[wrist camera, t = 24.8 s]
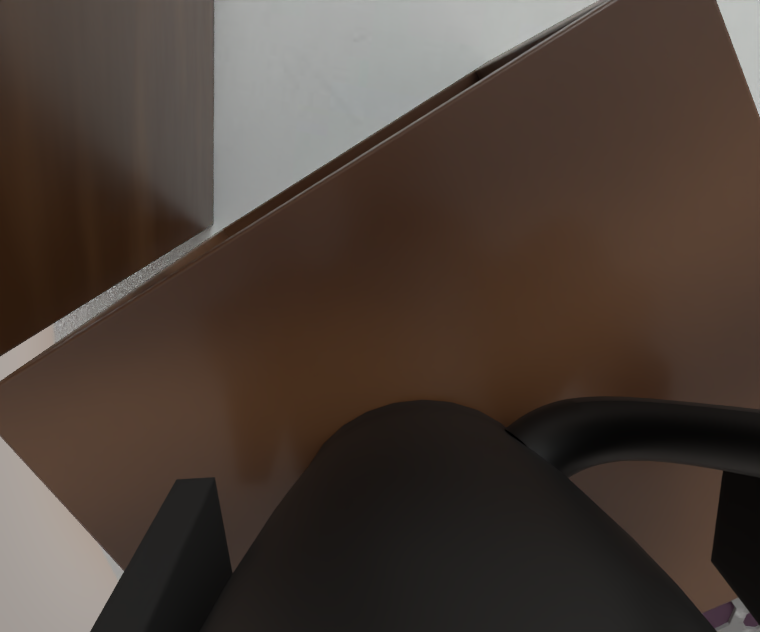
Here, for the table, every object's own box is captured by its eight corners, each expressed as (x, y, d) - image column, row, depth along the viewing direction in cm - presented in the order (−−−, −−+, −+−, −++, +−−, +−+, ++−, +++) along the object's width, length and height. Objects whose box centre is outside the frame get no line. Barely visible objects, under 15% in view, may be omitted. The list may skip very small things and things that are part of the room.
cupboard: (213, 235, 32) (-33, 402, 13) (489, 60, 29) (697, -55, 10) (348, 429, 36) (315, 781, 17) (604, 291, 33) (913, 524, 14)
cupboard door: (86, 212, 31) (-350, 348, 13) (60, -170, 26) (-765, -928, 7) (213, 224, 31) (-29, 375, 13) (214, -153, 26) (-200, -844, 7)
